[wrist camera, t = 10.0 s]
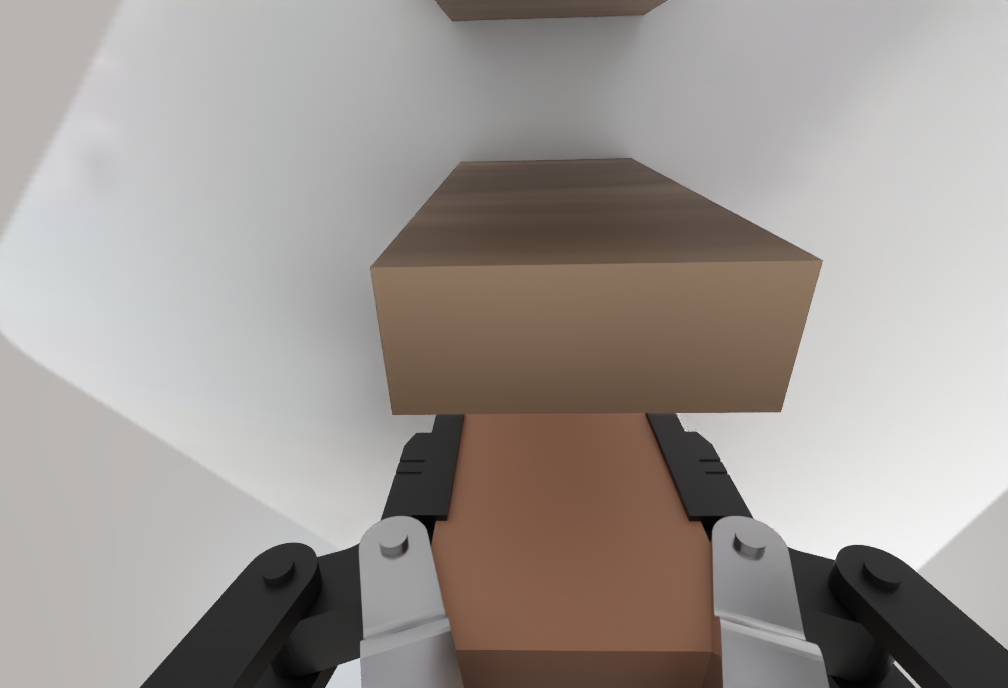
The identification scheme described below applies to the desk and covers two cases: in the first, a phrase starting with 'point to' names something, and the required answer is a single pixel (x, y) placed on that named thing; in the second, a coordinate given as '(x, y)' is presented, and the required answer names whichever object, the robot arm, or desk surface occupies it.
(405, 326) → the domino
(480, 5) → the domino
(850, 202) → the desk surface
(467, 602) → the domino
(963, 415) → the desk surface
